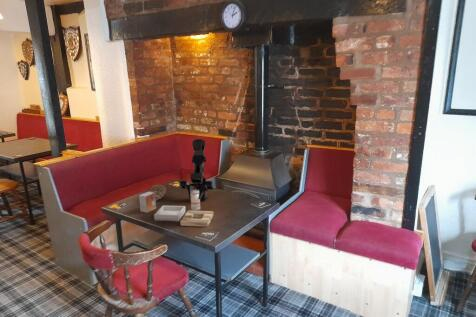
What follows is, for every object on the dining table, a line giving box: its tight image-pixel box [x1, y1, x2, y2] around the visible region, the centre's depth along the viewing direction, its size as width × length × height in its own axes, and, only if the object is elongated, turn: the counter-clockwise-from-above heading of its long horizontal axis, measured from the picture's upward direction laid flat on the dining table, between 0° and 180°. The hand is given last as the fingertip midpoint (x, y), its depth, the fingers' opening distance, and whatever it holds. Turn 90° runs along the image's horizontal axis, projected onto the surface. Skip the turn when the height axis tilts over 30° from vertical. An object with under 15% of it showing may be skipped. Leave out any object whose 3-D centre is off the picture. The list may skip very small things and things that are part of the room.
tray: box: [153, 204, 187, 222], centre depth 198 cm, size 14×14×4 cm
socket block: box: [179, 210, 214, 228], centre depth 192 cm, size 15×15×2 cm
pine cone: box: [148, 184, 167, 202], centre depth 221 cm, size 22×10×10 cm, turn 151°
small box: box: [138, 190, 157, 214], centre depth 207 cm, size 8×6×10 cm
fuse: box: [190, 189, 201, 211], centre depth 189 cm, size 5×5×10 cm
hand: (194, 198), depth 188 cm, fingers closed on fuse, 5 cm apart
